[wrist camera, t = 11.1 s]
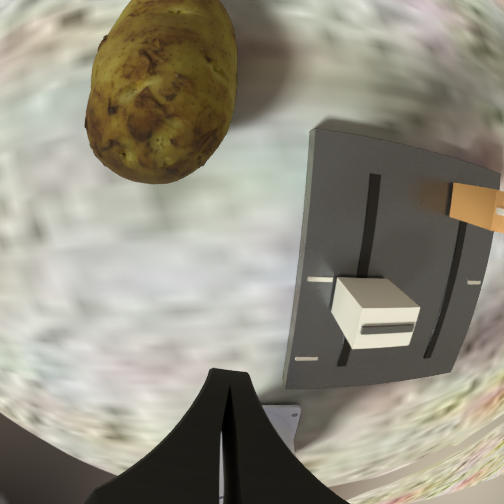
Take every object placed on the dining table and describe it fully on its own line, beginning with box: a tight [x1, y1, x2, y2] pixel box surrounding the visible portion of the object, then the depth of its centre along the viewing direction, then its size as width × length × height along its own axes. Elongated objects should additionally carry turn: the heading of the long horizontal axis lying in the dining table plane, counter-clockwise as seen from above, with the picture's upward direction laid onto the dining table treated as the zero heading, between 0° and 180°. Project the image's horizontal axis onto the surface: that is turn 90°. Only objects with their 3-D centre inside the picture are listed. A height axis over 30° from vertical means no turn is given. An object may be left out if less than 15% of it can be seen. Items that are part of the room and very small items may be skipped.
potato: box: [85, 0, 237, 184], centre depth 12 cm, size 8×13×8 cm, turn 162°
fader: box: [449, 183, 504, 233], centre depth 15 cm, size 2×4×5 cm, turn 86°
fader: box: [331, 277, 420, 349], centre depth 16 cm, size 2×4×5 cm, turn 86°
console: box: [283, 129, 501, 389], centre depth 19 cm, size 18×16×2 cm
